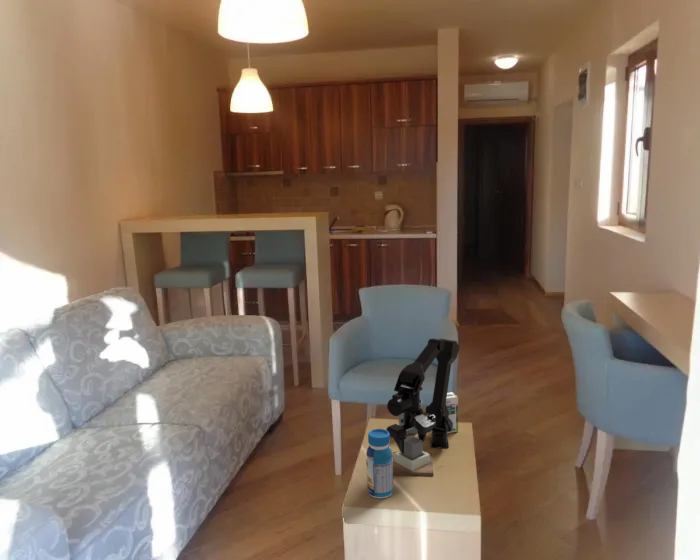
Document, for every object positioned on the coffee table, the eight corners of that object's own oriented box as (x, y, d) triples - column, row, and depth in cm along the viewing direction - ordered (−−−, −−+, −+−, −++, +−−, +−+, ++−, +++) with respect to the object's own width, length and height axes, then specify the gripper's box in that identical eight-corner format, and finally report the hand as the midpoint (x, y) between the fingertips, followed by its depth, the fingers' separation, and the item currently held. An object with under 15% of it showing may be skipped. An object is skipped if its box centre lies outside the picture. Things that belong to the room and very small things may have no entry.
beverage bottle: (385, 502, 172) (384, 441, 169) (362, 495, 177) (360, 435, 173) (398, 489, 179) (397, 430, 176) (375, 482, 184) (373, 425, 180)
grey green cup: (414, 437, 215) (413, 407, 213) (392, 430, 221) (391, 402, 219) (427, 427, 223) (427, 399, 221) (405, 421, 229) (405, 393, 227)
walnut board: (392, 454, 202) (392, 451, 202) (432, 455, 200) (432, 452, 200) (391, 474, 188) (391, 471, 188) (433, 475, 187) (433, 472, 187)
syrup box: (444, 434, 217) (444, 398, 214) (438, 427, 222) (438, 393, 220) (458, 432, 218) (458, 396, 216) (451, 425, 224) (451, 391, 221)
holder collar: (394, 461, 195) (394, 453, 194) (412, 453, 200) (412, 445, 200) (412, 470, 188) (412, 462, 188) (430, 462, 193) (429, 454, 193)
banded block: (402, 461, 195) (401, 440, 193) (412, 456, 198) (412, 435, 196) (412, 467, 191) (411, 445, 189) (422, 462, 194) (422, 440, 192)
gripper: (408, 421, 179) (408, 466, 181) (447, 405, 190) (448, 448, 193) (384, 410, 187) (385, 454, 190) (424, 396, 199) (424, 437, 201)
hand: (411, 448), depth 193 cm, fingers open, 9 cm apart
